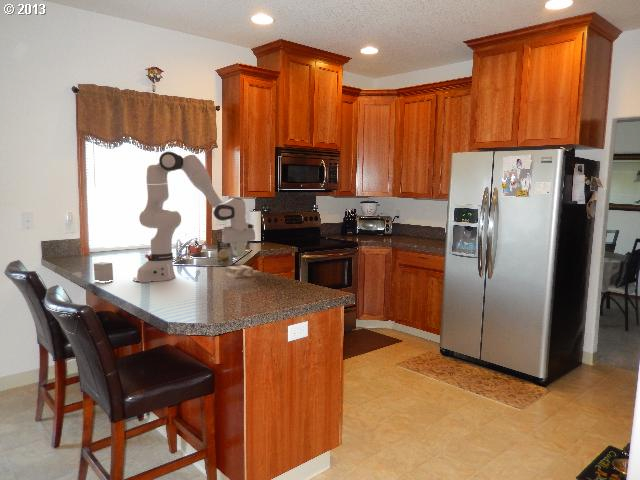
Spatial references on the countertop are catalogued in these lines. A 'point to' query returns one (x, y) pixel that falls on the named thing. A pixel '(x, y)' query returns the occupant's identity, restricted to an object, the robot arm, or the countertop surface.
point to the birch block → (239, 271)
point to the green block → (239, 248)
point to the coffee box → (224, 253)
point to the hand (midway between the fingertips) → (239, 249)
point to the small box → (103, 271)
